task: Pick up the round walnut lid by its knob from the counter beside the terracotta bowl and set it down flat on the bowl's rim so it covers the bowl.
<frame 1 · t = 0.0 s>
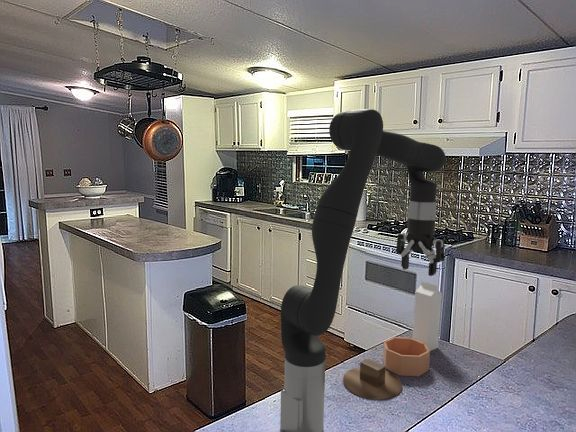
hand: (418, 272, 124), 29 cm above the worktop, tool pointing down, fingers open, 8 cm apart
lid: (371, 384, 119), on the worktop
bowl: (405, 365, 129), on the worktop
milk: (424, 347, 142), on the worktop
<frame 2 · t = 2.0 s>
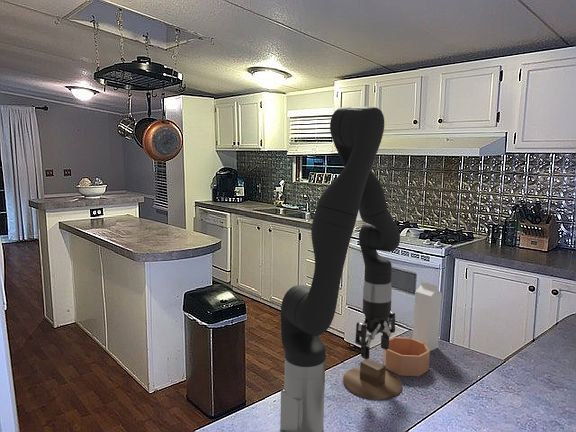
hand: (375, 353, 118), 9 cm above the worktop, tool pointing down, fingers open, 8 cm apart
nothing on the worktop moved.
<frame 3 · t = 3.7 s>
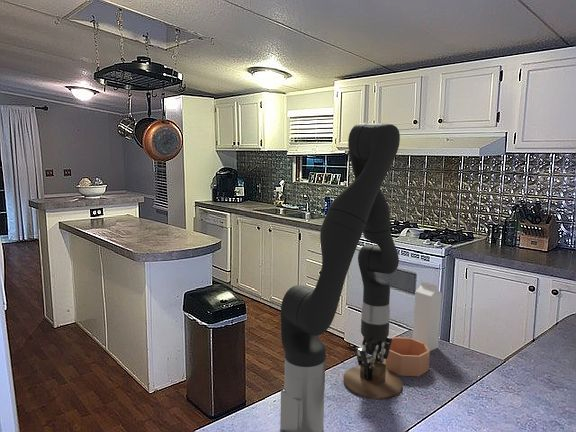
hand: (372, 376, 119), 2 cm above the worktop, tool pointing down, fingers closed on lid, 3 cm apart
lid: (372, 382, 119), on the worktop, touching gripper
everything else where it was.
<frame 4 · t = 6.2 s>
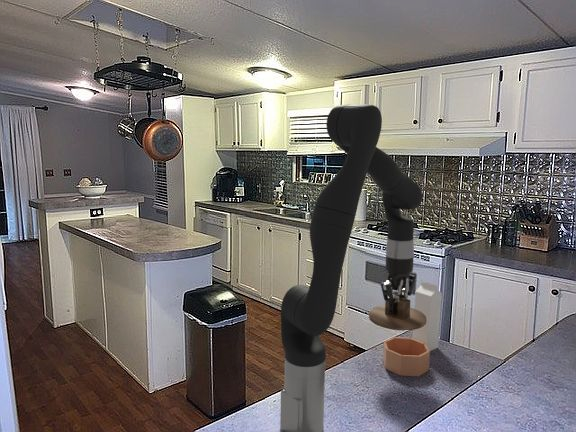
hand: (397, 312, 123), 18 cm above the worktop, tool pointing down, fingers closed on lid, 3 cm apart
lid: (397, 318, 123), point 16 cm above the worktop, touching gripper
everything else where it was.
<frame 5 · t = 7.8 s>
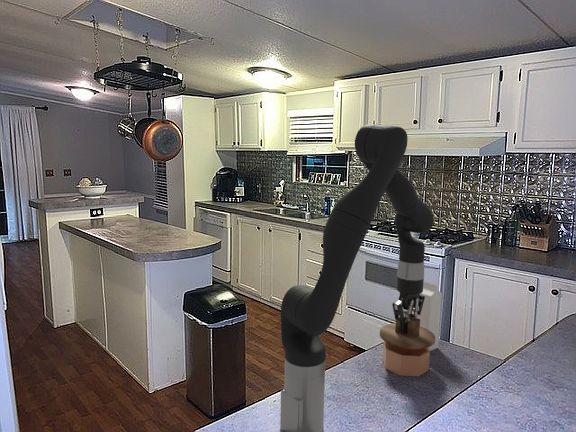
hand: (407, 331, 128), 11 cm above the worktop, tool pointing down, fingers closed on lid, 3 cm apart
lid: (406, 336, 128), point 9 cm above the worktop, touching gripper
everything else where it was.
when the fingers open (9 cm above the worktop, at t = 8.9 s): lid drops 1 cm, resting on bowl.
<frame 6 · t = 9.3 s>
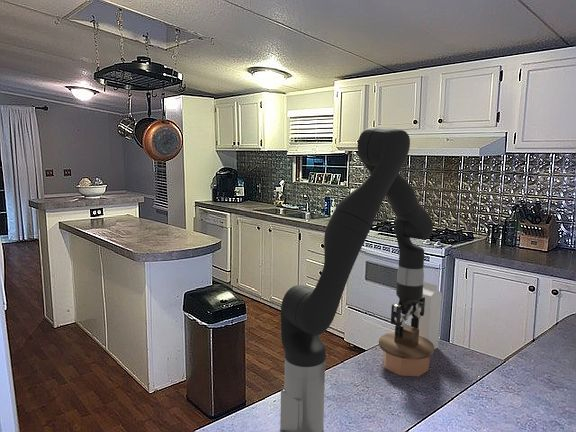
hand: (406, 333, 128), 10 cm above the worktop, tool pointing down, fingers open, 7 cm apart
lid: (405, 346, 128), point 6 cm above the worktop, touching bowl
everything else where it was.
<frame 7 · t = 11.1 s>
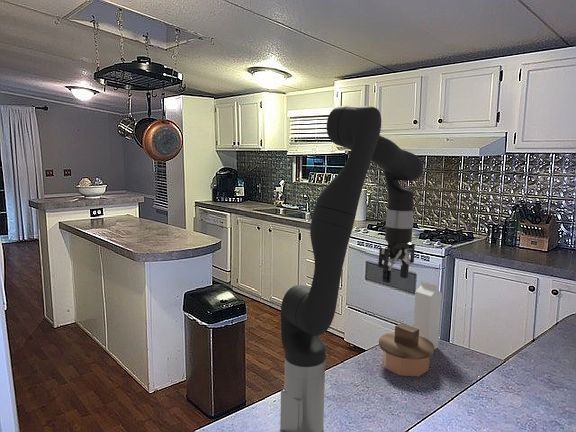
hand: (395, 279, 125), 27 cm above the worktop, tool pointing down, fingers open, 8 cm apart
nothing on the worktop moved.
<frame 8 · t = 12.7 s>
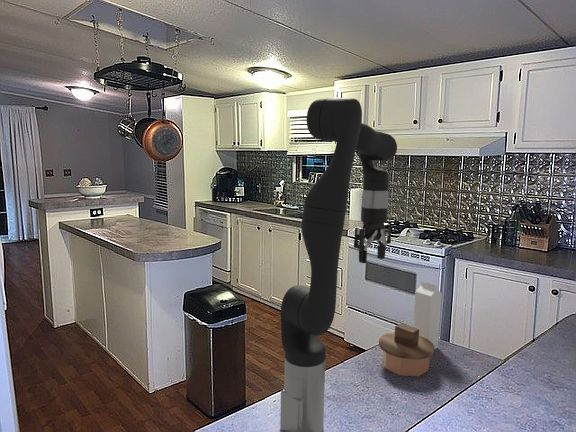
hand: (372, 260, 125), 32 cm above the worktop, tool pointing down, fingers open, 8 cm apart
nothing on the worktop moved.
at the end: lid 0.1 cm off-centre on the bowl, point 6.0 cm above the bowl's base; lid tilted 0°; the gripper is holding nothing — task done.
